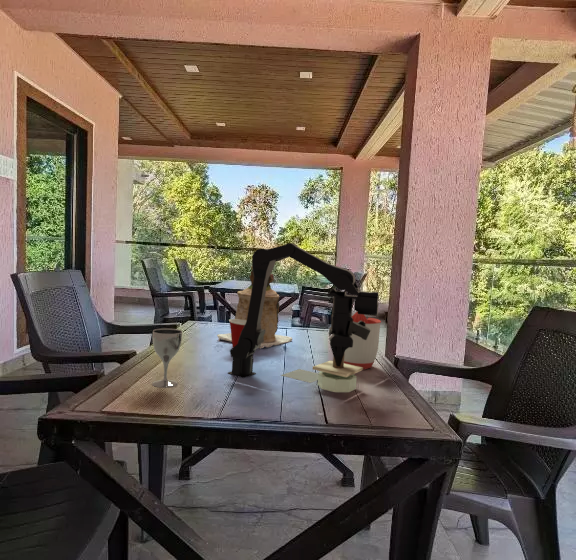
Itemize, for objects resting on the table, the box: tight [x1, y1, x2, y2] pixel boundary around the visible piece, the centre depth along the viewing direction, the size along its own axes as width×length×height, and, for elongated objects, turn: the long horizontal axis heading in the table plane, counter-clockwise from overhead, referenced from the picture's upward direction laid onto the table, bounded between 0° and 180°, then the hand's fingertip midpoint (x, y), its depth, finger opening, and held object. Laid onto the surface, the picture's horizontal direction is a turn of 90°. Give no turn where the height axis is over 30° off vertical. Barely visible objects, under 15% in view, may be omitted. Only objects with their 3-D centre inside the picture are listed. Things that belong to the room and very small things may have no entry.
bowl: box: [317, 371, 358, 393], centre depth 137 cm, size 10×10×4 cm
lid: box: [312, 353, 364, 377], centre depth 137 cm, size 11×11×5 cm
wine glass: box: [151, 328, 183, 389], centre depth 130 cm, size 8×8×15 cm
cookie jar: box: [217, 265, 293, 349], centre depth 197 cm, size 25×25×32 cm
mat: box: [280, 368, 319, 384], centre depth 147 cm, size 11×11×1 cm
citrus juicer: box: [344, 311, 382, 371], centre depth 166 cm, size 16×17×20 cm
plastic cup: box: [228, 318, 247, 348], centre depth 175 cm, size 11×11×12 cm
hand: (338, 364), depth 137 cm, fingers closed on lid, 3 cm apart
